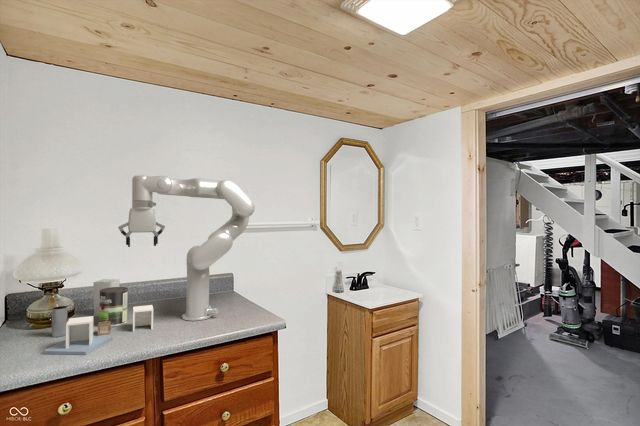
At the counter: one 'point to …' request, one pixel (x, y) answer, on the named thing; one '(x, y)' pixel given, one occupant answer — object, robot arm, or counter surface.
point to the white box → (79, 330)
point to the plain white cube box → (142, 316)
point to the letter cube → (104, 328)
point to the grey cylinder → (59, 321)
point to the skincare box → (98, 286)
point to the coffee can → (113, 305)
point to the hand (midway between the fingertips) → (142, 246)
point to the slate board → (78, 346)
